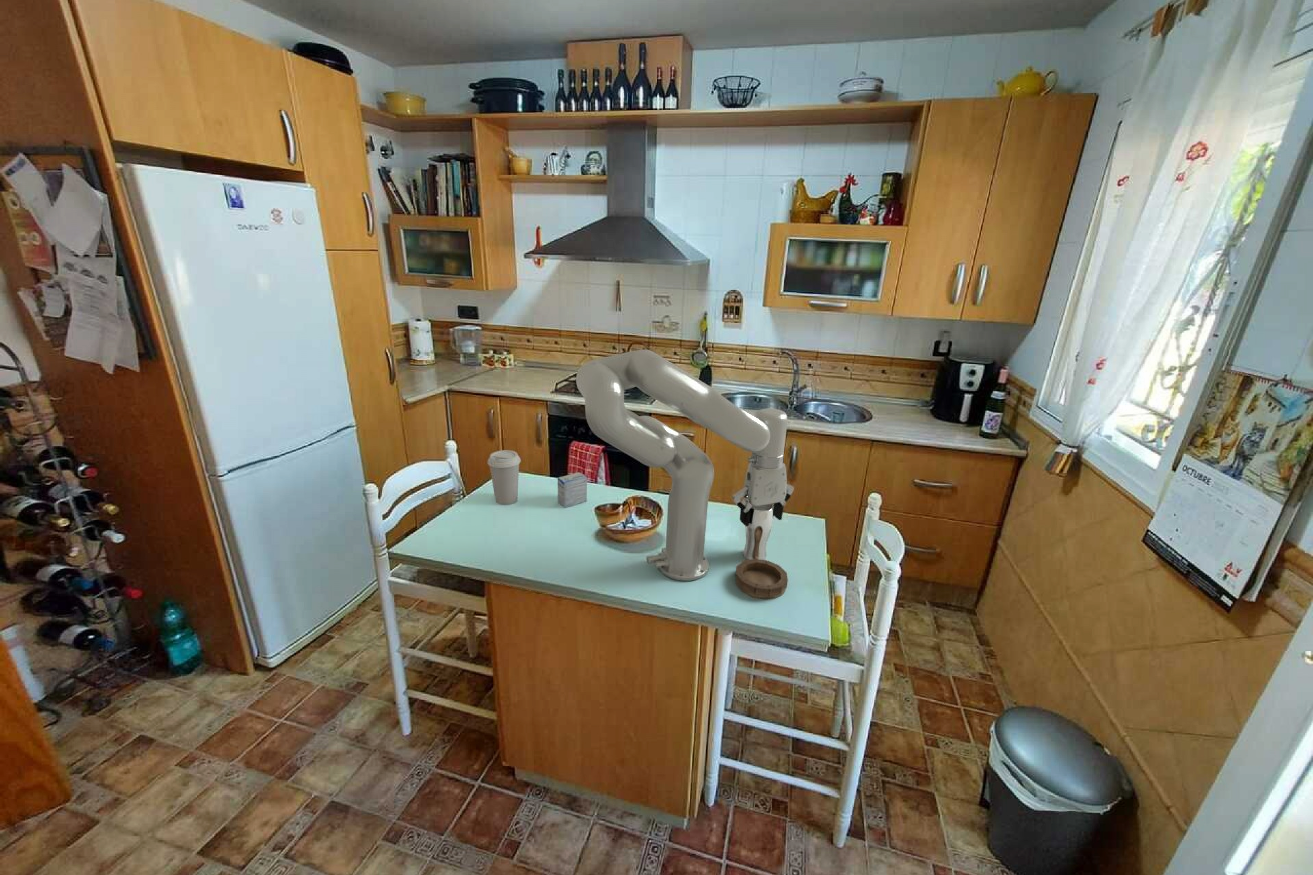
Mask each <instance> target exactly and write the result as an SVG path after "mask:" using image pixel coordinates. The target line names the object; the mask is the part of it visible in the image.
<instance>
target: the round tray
mask: <svg viewBox="0 0 1313 875" xmlns="http://www.w3.org/2000/svg"><path fill="white" fill-rule="evenodd" d="M735 568H736V570H735V579H734V581H735V584H736V586H737V588H738V589H739V590H740V591H741V592H742V593H743V594H745V595H748V596H750V597H752V598H756V599H760V600H761V599H762V600H772V599H777V598H779V597H781V596H783V595H784V594H785V592H786V589H787V588H788V581H789V579H788V573H787V571H786V570H785V569H784V568H782V566H780V565H779V564H777V563H775V562H773V561H769V560H766V559H765V560H760V559H751V560H747V559H746V560H743V561H742V562H740V563H739V564H737V565H736V567H735Z"/></svg>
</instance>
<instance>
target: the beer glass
mask: <svg viewBox="0 0 1313 875" xmlns="http://www.w3.org/2000/svg"><path fill="white" fill-rule="evenodd" d="M749 512H750V519H749V525H748V526H745V525H744V528H745V529H744V532H745V545H744V548H743V551H742V556H743V558H745V559H746V560H751V559H760V560H766V559H767V545H768V544H767V543H768V541H769V537H770V533H771V531H772V528H773V523H774V516H773V514H774V503H773V504H767V505H762V506H752V507H751V508H750V509H749Z"/></svg>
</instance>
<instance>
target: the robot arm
mask: <svg viewBox="0 0 1313 875" xmlns="http://www.w3.org/2000/svg"><path fill="white" fill-rule="evenodd" d="M575 382H576V386H577V389H578V391H579V393H580V394H581V395H582V397H583V399H584V407H585V408H584V409H585V418H586V422H587V424H588V427H589V428H590V430H591V431H592V433H593V434H594V435H595V436H597V437H598V438H600V439H601V440H602V441H604V442H606V443H607V444H609V445H611V446H612V447H614V448H616V449H618V450H619V451H621V452H623V453H624V454H626V455H628V456H630V457H631V458H633V459H634V460H636V461H638V462H640V463H641V464H643V465H645V466H647V467H650V468H655V469H660V468H663V469H664V470H665V471H666V472H667V474H668V475H669V476H670V478H671V480H672V481H671V482H672V483H671V484H672V485H671V489H670V491H669V495H668V500H667V501H668V502H667V515H666V516H667V518H666V519H667V520H666V534H665V535H666V537H665V547H662V548H661V552H658V553H657V554H653V555H652V554H651V555H648V556H647V555H646V557H645V558H646V564H648V565H650V564H654V566H655V568H658V569H659V570H660V571H661V573H662V574H664V575H665V576H666V577H668V578H671V579H673V580H677V581H683V582H688V581H690V582H691V581H694V580H695V581H696V580H699V579H701V578H703V577H704V576H706V575H707V574H708V572H709V569H710V567H709V566H710V564H709V560H708V559H707V558H706V557H705V556H704V555H705V554H704V553H705V544H706V532H707V520H708V519H707V518H708V517H707V516H708V507H709V499H710V498H709V497H710V492H711V489H712V485H713V482H714V478H715V477H714V476H715V470H714V465H713V463H712V461H711V458H709V456H708V455H707V454H706V453H705V452H704V451H703V450H702V449H701V448H700V447H699V446H697V445H696V444H695V443H694V442H693V441H691V439H689V438H688V437H687V436H686V435H683V434H681V433H680V432H678V431H676V430H675V429H673V428H672V427H669V426H668V425H666V424H665V423H664V422H662V421H660V420H659V419H657V418H655V417H652V416H649V415H640V416H639V415H638V414H636V413H635V412H633V411H632V410H629V409H628V408H627V407H626V405H625V400H624V399H625V390H630V389H633V388H635V387H636V388H638V390H640V391H642V393H644V394H645V395H647V396H649V397H650V398H652V399H654V400H656V401H658V402H660V403H662V404H663V405H665V406H666V407H669V408H671V409H672V410H674V411H675V412H677V413H679V414H680V415H682V416H684V417H686V418H688V419H689V420H691V421H692V422H694V423H695V424H697V425H699V426H702V427H703V428H706V430H709V431H711V432H713V433H715V434H716V435H718V436H719V437H721V438H722V439H724V440H726V441H727V442H729V443H730V444H732V445H734V446H737V447H738V448H739V449H741V450H743V451H745V452H748V453H751V456H749V457H747V461H748V466H747V469H746V474H745V478H744V484H743V488H742V489H740V490H738V491H737V492H736V493H734V494H732V499H733V502H734V504H735V505H736V506H737V507H738V508H739V509H740V511H739V512H740V513H739V520H740V522H741V523H742V525H744V527H745V526H748V525H749V519H750V512H749V509H750V508H751V507H752V506H762V505H767V504H773V505H774V514H773V517H775V518H776V519H777V520H779V521H782V519H783V514H784V507H785V506H786V505H787V501H788V500H789V499H791V495H792V494H793V492H794V490H795V487H794V486H793V485H790V484H788V483H787V480H788V479H787V477H788V476H787V467H786V464H785V463H784V455H785V454H784V452H785V445H786V438H787V437H786V436H787V428H788V415H787V413H786V412H785V411H784V410H781V409H777V408H768V407H767V408H762V409H746V408H741V407H739V406H738V405H736V404H734V403H733V402H732V401H730V400H728V399H727V398H726V397H724V396H723V394H720V393H719V392H718V391H717V390H716V389H714V388H713V387H711V386H710V385H708V384H707V383H705V382H703V381H701V380H700V379H698V378H697V377H695V376H693V375H692V374H691V373H689V372H687V371H685V370H683V369H682V368H681V367H679V366H677V365H676V364H674V363H672V362H670V361H669V360H667V359H666V358H664V357H663V356H661V355H659V353H656V352H654V351H652V350H650V349H637V350H631V351H627V352H622V353H617V354H613V355H609V356H604V357H600V358H595V359H593V360H589V361H587V362H585V363H584V364H583V365H582V366H581V367H580V368H579V369H578V371H577V373H576V377H575ZM742 498H743V499H742ZM741 499H742V501H741Z"/></svg>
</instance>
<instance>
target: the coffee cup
mask: <svg viewBox="0 0 1313 875" xmlns="http://www.w3.org/2000/svg"><path fill="white" fill-rule="evenodd" d="M521 462H522V461H521V457H520V456H519V455H518V452H516V451H515V450H505V449H503V450H498V451H495V452H492V453H490V454H489V457H488V459H487V465H488V466H489V469H490V476H491V482H492V487H493V492H494V493H493V494H494V498H495V499H494V500H495V503H496V504H498V505H500V506H508V505H513V504H515V503H516V502H518V496H519V495H518V493H519V492H518V491H519V471H520V470H519V469H520V463H521Z"/></svg>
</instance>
